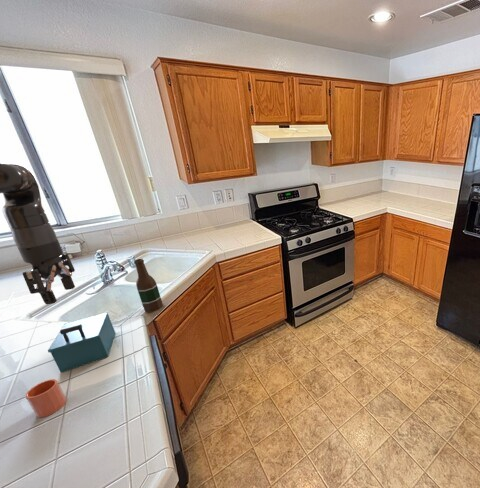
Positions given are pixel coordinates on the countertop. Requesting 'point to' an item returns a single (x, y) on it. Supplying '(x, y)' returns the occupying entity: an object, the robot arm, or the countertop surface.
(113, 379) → the countertop surface
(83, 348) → the box
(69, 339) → the lid
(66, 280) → the robot arm
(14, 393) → the countertop surface
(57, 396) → the cup
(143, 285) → the beer bottle
